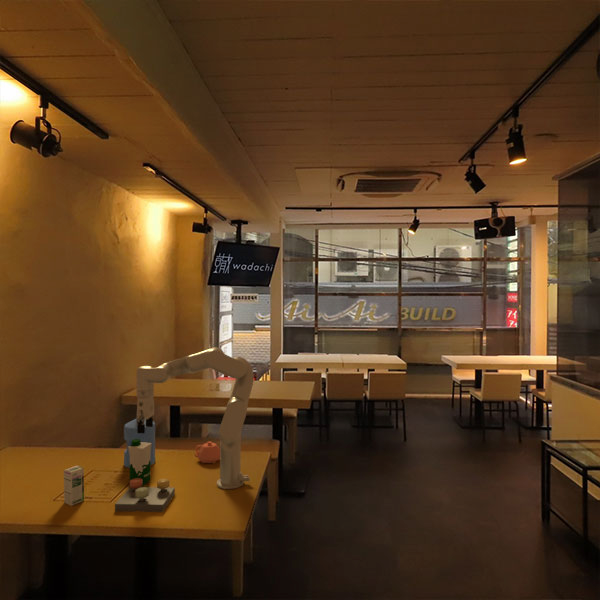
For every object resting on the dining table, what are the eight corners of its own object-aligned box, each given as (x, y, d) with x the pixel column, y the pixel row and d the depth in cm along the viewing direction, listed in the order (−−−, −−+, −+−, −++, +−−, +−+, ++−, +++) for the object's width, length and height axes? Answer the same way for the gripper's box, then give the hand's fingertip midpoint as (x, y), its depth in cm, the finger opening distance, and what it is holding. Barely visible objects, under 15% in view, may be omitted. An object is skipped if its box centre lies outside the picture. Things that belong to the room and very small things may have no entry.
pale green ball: (150, 498, 188) (150, 487, 188) (145, 504, 183) (145, 492, 182) (138, 498, 188) (138, 487, 188) (133, 504, 183) (133, 492, 183)
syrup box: (71, 506, 186) (71, 472, 186) (63, 502, 189) (63, 469, 189) (84, 501, 191) (84, 467, 190) (76, 497, 194) (76, 464, 194)
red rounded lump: (144, 489, 197) (144, 478, 197) (139, 494, 192) (139, 483, 192) (132, 489, 197) (132, 478, 197) (127, 494, 192) (127, 483, 192)
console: (174, 494, 198) (174, 487, 198) (163, 511, 182) (163, 504, 182) (130, 493, 198) (130, 486, 198) (114, 511, 182) (114, 503, 182)
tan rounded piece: (170, 489, 197) (171, 478, 197) (167, 495, 191) (167, 483, 191) (159, 489, 197) (159, 478, 197) (155, 494, 192) (155, 483, 191)
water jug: (143, 455, 243) (143, 405, 243) (161, 462, 234) (161, 409, 234) (117, 464, 231) (117, 411, 230) (135, 471, 222) (135, 416, 221)
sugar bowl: (218, 465, 231) (218, 446, 231) (191, 465, 231) (192, 445, 231) (223, 456, 243) (223, 438, 243) (197, 456, 243) (197, 438, 243)
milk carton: (136, 477, 215) (136, 437, 214) (153, 479, 213) (153, 438, 212) (126, 485, 206) (126, 443, 206) (143, 487, 204) (143, 444, 204)
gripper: (145, 397, 196) (146, 436, 196) (159, 389, 213) (159, 424, 213) (129, 397, 196) (129, 435, 196) (144, 388, 213) (144, 424, 214)
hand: (145, 429), depth 205 cm, fingers open, 9 cm apart
